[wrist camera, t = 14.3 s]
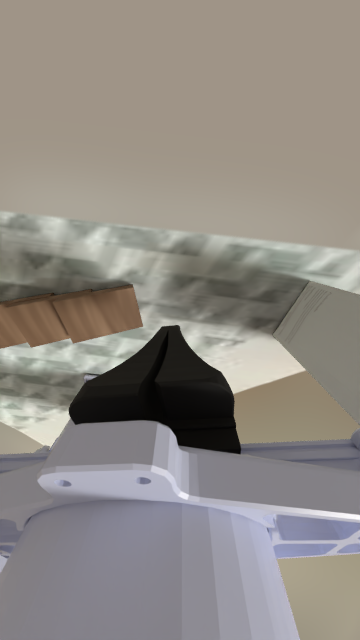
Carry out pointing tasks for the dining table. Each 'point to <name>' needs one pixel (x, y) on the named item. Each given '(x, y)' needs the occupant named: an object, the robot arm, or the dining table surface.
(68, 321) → the walnut domino
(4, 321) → the walnut domino
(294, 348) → the skincare box
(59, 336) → the walnut domino
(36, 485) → the robot arm
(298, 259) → the dining table surface
